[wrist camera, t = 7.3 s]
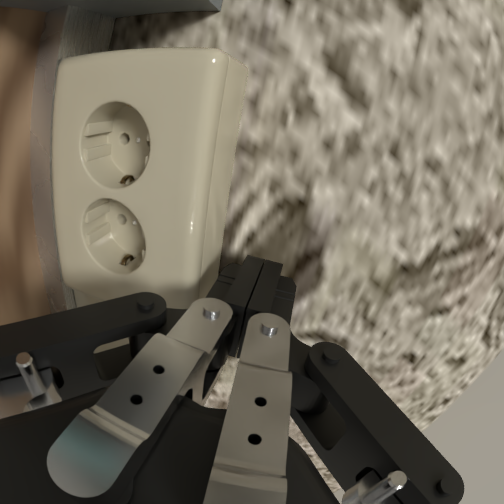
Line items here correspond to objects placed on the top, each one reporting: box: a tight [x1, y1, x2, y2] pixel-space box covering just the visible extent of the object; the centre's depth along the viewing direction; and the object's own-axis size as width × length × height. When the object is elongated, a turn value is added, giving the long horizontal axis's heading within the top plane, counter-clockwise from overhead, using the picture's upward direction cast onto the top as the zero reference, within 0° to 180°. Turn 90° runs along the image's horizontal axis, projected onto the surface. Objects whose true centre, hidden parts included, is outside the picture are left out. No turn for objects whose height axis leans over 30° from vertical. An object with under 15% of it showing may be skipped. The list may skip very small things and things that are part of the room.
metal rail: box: [30, 5, 115, 314], centre depth 14 cm, size 22×2×4 cm, turn 171°
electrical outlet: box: [52, 47, 248, 353], centre depth 14 cm, size 7×4×18 cm
